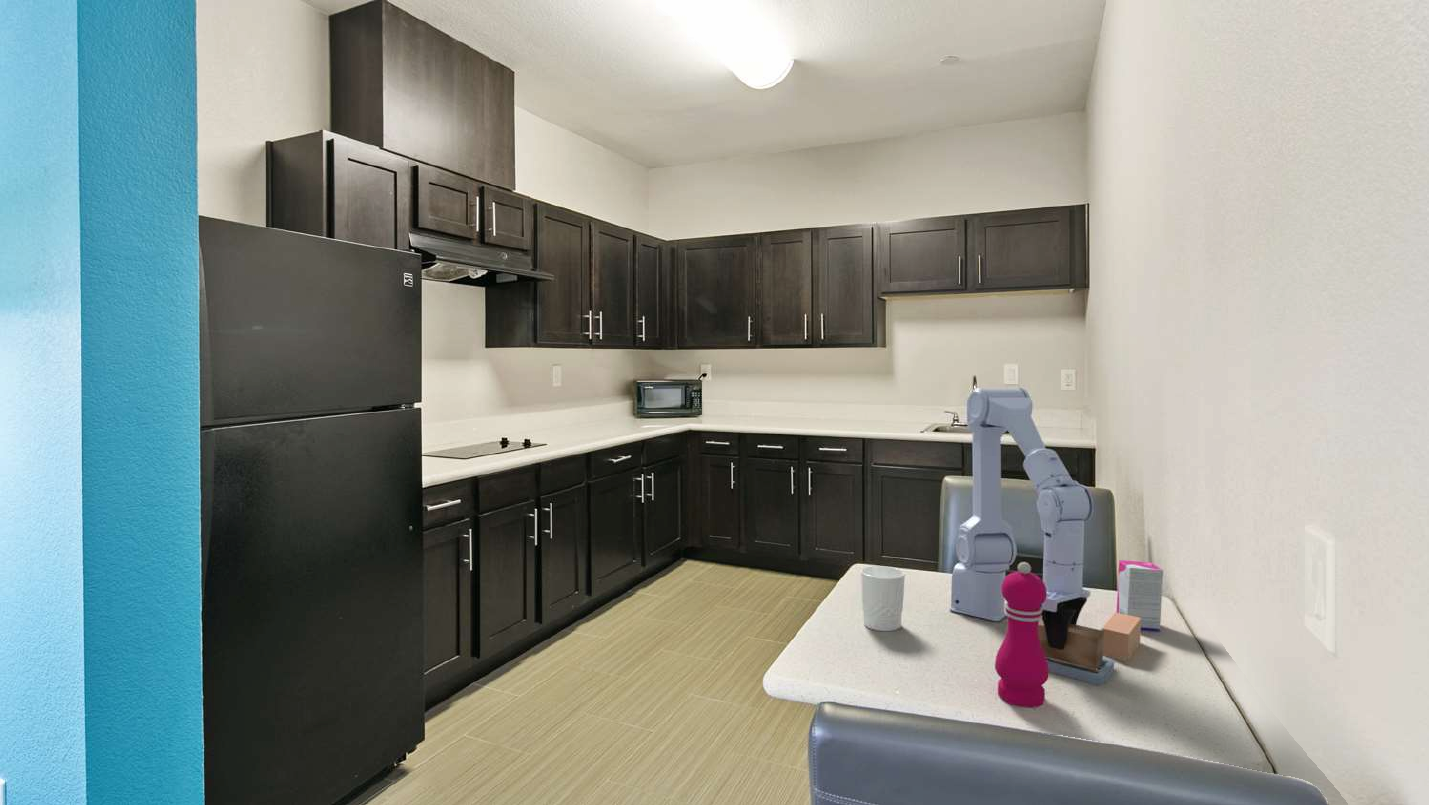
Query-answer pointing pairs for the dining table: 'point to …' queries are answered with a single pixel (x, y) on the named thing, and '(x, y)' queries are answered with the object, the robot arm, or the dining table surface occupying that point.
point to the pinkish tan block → (1121, 636)
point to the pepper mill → (1022, 641)
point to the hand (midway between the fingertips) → (1060, 643)
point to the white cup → (882, 597)
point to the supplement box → (1140, 592)
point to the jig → (1084, 672)
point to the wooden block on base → (1076, 646)
